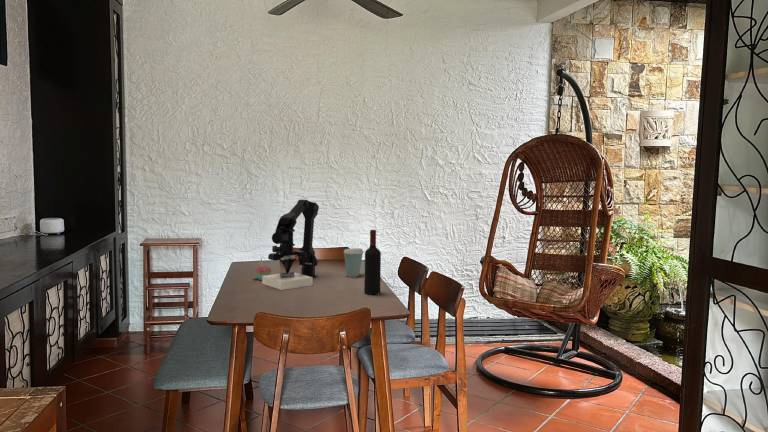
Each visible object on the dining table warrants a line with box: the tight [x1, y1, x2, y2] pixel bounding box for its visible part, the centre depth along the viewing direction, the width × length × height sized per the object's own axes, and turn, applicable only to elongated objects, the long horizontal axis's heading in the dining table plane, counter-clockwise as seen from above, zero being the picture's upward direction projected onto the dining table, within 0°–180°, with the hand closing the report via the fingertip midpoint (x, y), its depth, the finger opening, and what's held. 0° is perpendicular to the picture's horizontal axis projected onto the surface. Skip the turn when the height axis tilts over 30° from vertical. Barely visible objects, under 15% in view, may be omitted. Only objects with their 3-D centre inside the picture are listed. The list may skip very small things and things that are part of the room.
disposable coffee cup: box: [343, 247, 364, 278], centre depth 337 cm, size 11×11×15 cm
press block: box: [261, 271, 314, 291], centre depth 313 cm, size 18×18×4 cm
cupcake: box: [254, 257, 272, 281], centre depth 325 cm, size 9×8×12 cm
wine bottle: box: [363, 229, 382, 295], centre depth 295 cm, size 8×8×30 cm
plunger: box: [279, 270, 295, 278], centre depth 313 cm, size 7×7×6 cm
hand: (287, 272), depth 313 cm, fingers closed, pressing on plunger
